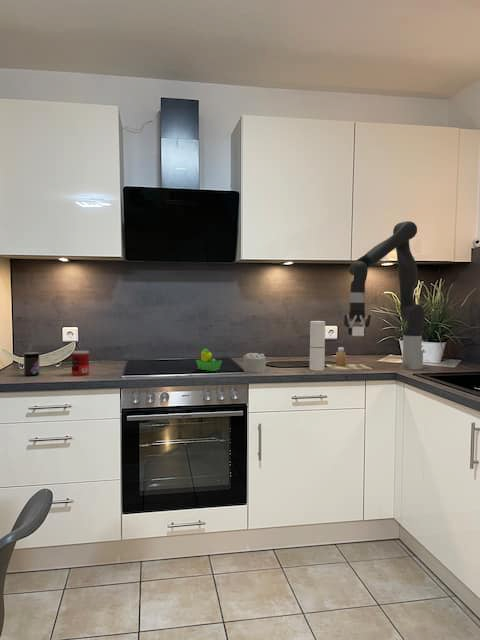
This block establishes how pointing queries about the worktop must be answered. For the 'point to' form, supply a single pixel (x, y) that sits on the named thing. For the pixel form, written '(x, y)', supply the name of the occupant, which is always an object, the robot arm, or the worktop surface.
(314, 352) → the cylindrical container
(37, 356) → the supplement container
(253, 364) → the lumpy-topped squat cylinder
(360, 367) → the board
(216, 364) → the fruit basket
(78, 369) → the canned food
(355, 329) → the white minus sign cube
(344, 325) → the robot arm
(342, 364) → the bottle
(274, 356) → the worktop surface
